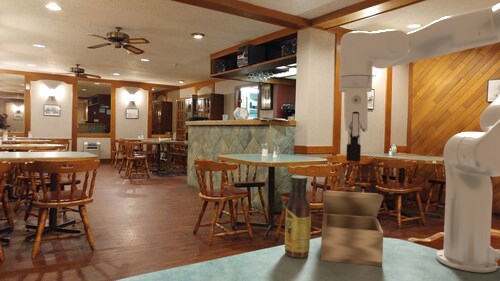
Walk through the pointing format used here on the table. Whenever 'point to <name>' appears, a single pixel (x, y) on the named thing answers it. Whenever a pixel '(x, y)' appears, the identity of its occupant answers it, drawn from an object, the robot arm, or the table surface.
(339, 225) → the box
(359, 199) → the lid
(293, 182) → the sauce bottle
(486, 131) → the robot arm
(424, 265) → the table surface
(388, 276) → the table surface
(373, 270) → the table surface
